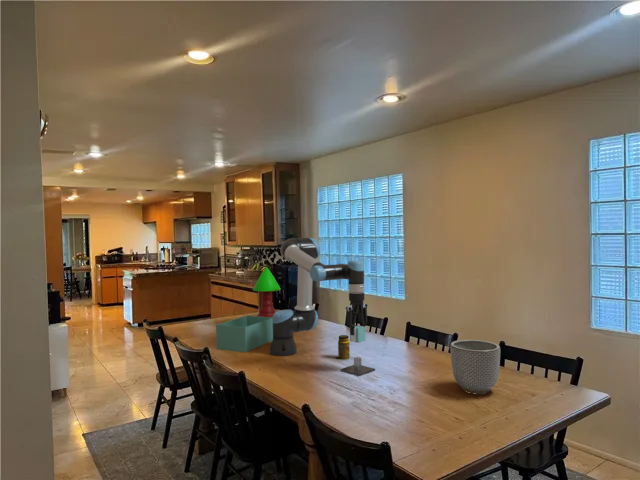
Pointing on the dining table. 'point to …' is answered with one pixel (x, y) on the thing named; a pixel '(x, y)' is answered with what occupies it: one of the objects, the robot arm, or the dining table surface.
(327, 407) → the dining table surface
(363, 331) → the teal block
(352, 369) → the grey square plate
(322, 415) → the dining table surface
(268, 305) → the table lamp
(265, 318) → the box
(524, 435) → the dining table surface
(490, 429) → the dining table surface
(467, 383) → the planter
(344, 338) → the condiment
